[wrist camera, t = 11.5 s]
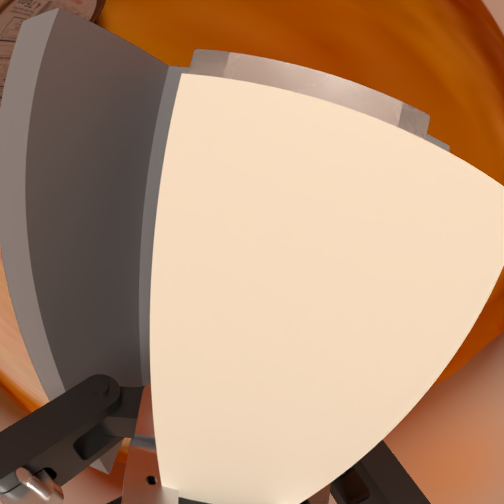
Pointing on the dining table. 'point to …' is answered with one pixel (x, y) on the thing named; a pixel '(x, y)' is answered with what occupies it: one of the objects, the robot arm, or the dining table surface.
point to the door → (303, 286)
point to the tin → (27, 6)
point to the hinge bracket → (107, 186)
